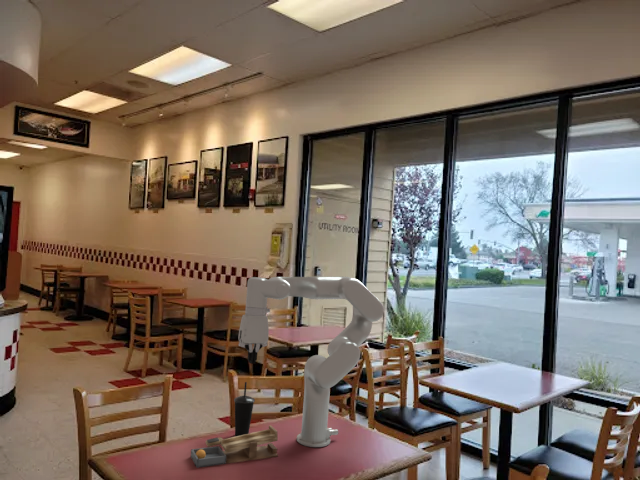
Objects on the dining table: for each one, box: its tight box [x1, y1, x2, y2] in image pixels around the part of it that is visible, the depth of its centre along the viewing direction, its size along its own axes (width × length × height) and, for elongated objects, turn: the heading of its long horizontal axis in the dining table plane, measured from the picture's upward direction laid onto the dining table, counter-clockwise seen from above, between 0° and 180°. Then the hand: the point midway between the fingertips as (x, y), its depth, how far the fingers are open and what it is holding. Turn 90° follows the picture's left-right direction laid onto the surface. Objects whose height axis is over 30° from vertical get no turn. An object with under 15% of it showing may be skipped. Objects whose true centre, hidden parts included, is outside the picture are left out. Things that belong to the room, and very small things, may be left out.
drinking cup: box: [233, 381, 256, 437], centre depth 184 cm, size 8×8×20 cm
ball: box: [196, 449, 206, 459], centre depth 160 cm, size 3×3×3 cm
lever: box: [205, 424, 279, 453], centre depth 168 cm, size 22×10×3 cm, turn 117°
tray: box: [190, 445, 227, 469], centre depth 161 cm, size 9×8×2 cm
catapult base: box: [222, 434, 279, 464], centre depth 167 cm, size 18×8×6 cm, turn 117°
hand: (251, 362), depth 177 cm, fingers closed
